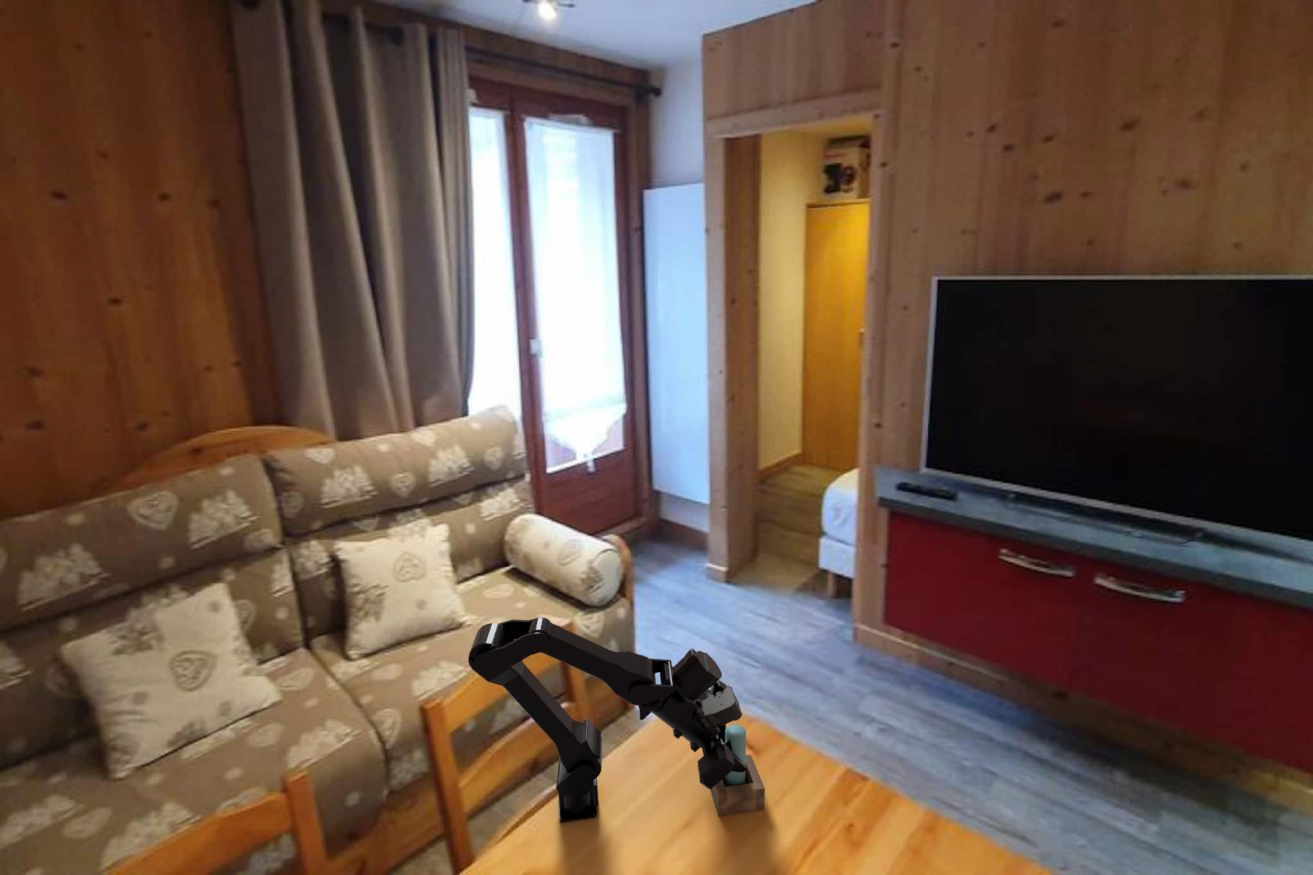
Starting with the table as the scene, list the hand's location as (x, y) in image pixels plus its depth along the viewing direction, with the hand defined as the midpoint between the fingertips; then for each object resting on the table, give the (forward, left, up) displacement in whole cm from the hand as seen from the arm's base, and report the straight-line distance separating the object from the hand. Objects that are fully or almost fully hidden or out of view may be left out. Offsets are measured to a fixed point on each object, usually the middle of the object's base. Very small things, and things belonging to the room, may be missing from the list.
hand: (742, 761), depth 119 cm
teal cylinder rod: (-1, 0, -7) cm, 7 cm away
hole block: (-1, 0, -7) cm, 7 cm away
